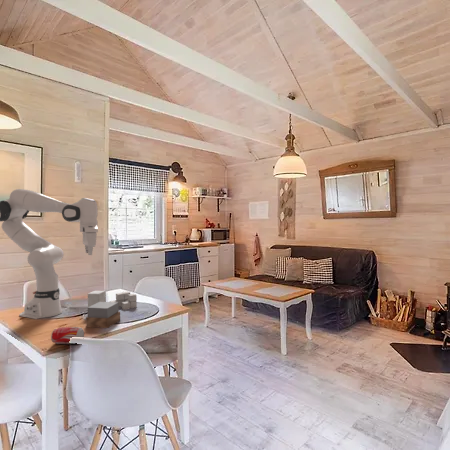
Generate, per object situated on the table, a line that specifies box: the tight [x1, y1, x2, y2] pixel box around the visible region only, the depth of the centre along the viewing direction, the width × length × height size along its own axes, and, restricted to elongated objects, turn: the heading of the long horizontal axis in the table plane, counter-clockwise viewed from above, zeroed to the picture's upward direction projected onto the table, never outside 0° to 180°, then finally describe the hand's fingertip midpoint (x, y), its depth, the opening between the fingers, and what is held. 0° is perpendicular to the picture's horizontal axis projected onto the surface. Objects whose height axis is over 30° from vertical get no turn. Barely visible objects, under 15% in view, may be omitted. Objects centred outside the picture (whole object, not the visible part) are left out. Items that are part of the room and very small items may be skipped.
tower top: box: [87, 301, 120, 318], centre depth 165 cm, size 11×11×5 cm
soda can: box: [50, 326, 85, 345], centre depth 139 cm, size 7×7×12 cm
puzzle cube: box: [109, 291, 138, 311], centre depth 194 cm, size 12×12×8 cm
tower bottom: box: [85, 311, 121, 329], centre depth 165 cm, size 12×12×5 cm
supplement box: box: [87, 290, 107, 308], centre depth 181 cm, size 7×7×13 cm
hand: (88, 254), depth 170 cm, fingers open, 8 cm apart
